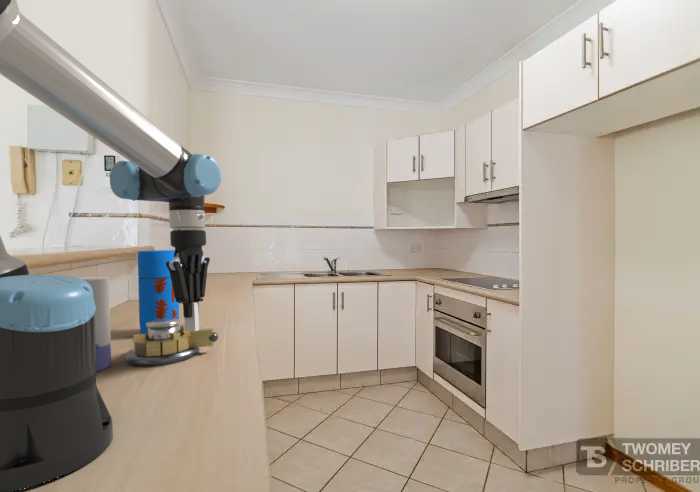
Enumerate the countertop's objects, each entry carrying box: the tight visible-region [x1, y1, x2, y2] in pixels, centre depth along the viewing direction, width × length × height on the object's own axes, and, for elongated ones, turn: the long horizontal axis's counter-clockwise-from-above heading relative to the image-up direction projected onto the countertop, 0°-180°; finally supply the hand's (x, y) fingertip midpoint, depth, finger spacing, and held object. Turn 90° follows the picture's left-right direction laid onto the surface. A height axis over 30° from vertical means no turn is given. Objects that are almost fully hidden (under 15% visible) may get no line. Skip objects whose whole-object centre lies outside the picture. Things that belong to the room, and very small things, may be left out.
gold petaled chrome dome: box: [132, 323, 219, 357], centre depth 89 cm, size 19×13×4 cm
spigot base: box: [125, 318, 200, 368], centre depth 88 cm, size 17×16×8 cm
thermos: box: [137, 249, 180, 334], centre depth 110 cm, size 11×11×25 cm
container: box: [79, 276, 112, 373], centre depth 79 cm, size 10×10×20 cm
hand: (192, 330), depth 84 cm, fingers closed
